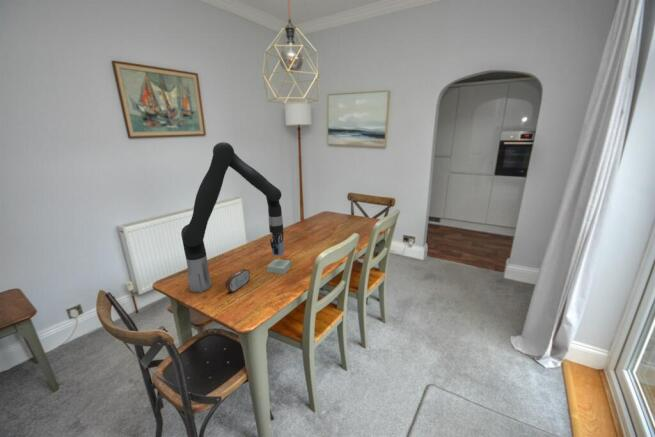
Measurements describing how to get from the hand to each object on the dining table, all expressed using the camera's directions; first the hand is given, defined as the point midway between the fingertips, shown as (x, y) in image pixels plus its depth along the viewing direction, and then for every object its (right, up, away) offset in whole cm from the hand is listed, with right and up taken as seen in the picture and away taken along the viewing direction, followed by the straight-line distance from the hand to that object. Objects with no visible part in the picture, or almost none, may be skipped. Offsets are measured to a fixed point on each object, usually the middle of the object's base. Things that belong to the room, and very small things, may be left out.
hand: (278, 252), depth 158 cm
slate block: (0, -1, 0) cm, 1 cm away
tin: (-17, -16, -14) cm, 28 cm away
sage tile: (0, -11, +3) cm, 11 cm away
